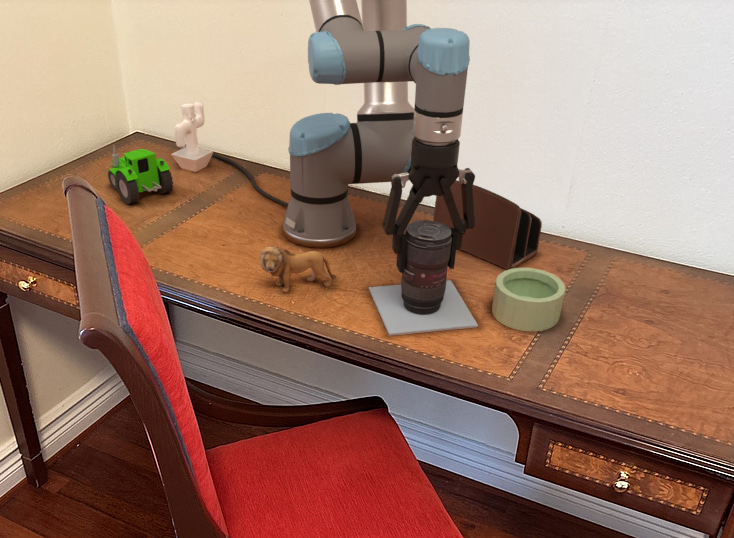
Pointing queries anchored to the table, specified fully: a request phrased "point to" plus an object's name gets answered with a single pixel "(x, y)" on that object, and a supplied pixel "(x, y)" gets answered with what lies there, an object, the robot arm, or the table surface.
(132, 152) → the toy tractor
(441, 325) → the mat
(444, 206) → the letter holder
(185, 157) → the figurine
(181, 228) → the table surface
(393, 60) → the robot arm
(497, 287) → the bowl
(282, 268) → the lion figurine
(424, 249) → the camera lens
